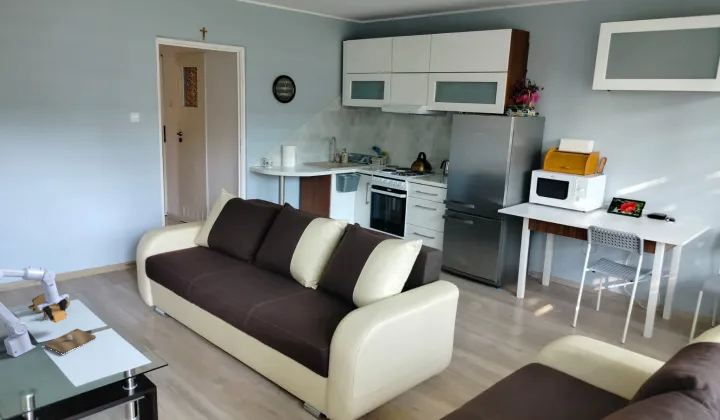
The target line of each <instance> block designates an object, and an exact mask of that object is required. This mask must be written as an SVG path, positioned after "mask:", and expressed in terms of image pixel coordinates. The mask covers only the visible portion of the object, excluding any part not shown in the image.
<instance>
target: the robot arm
mask: <svg viewBox="0 0 720 420" xmlns="http://www.w3.org/2000/svg"><path fill="white" fill-rule="evenodd" d="M4 277H5V278H6V277H7V278H9V277H10V278H21V279H22V280H23V281H35V282H36V281H40V284H41V288H42V291H43V294H44V295H45V299H46V302H44V303H42V304H41V305H39V306H37V308H38V310H43V311H44V312H45V314H47V317H48V319H49V321H50V320H54V319H53V315H52V308H50V307H49V306H51V305H53V304H56V303H58V304H59V307H60V309H61V310H63V311H65V312H66V309H65V308H66V304H67V300H65V299H68V298H69V299H70V295H69V294H68V293H65V294H62V295H59V292H58V289H57V283H56V280H55V278H56V273H55V272H54V271H53V270H51V269H48V268H45V267H40V268H38V267H37V268H34V267H33V266H28V267H25V268H23V269H14V268H5V267H0V280H2V279H3V278H4ZM44 312H43V313H44ZM0 321H1V322H2V324H3V325H4V328H5V330H6V331H8V336H7V337H6V338H5V339H3V343H4V346H5V348H6V349H5V350H6V354H8V355H9V356H11V357H14V358H17V357H20V356H21V355H23V354H25V353H27V352H29V351H31V350H33V349H35V348H36V345H33V344H32V342H31V338H30V335H29V333H28V328H29V327H28V323H26V322H25V321H22V320H20V319H19V318H18V317H17V316H15V315H14V314H13V313H12V312H11V311H10V310H9V309H8V308H7V307H6V306H5V305H4V304H3V303H2V302H1V301H0Z"/></svg>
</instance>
